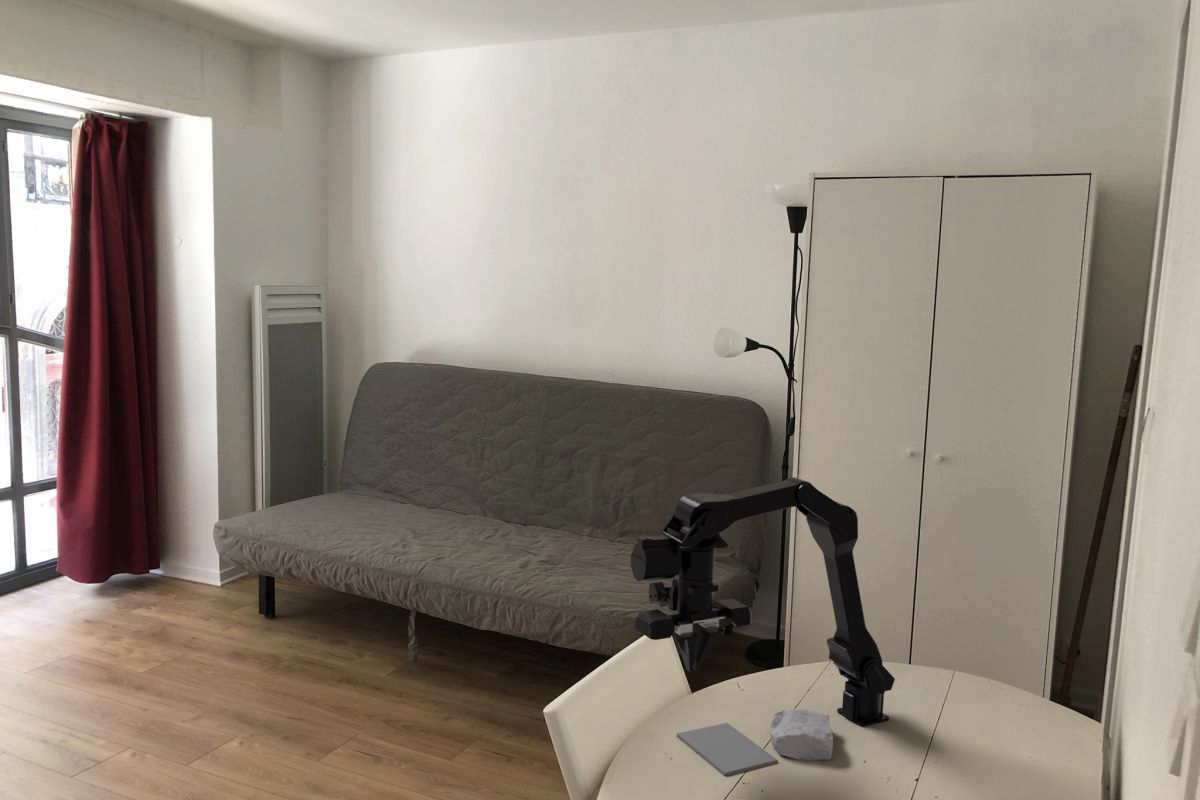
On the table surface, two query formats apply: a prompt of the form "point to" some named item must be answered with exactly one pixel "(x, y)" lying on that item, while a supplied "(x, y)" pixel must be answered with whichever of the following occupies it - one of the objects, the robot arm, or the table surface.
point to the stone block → (802, 734)
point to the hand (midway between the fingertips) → (691, 670)
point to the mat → (726, 748)
